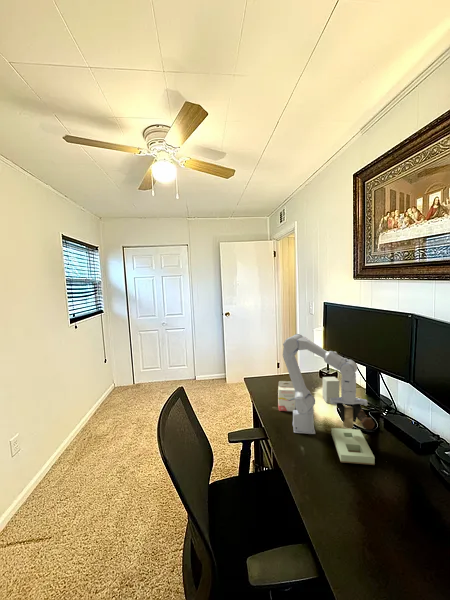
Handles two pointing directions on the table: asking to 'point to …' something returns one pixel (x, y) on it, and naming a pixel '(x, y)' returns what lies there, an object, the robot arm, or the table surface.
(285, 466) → the table surface
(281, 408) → the ink cartridge box
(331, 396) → the supplement box
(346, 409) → the pin
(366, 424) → the bolt
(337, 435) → the socket block
